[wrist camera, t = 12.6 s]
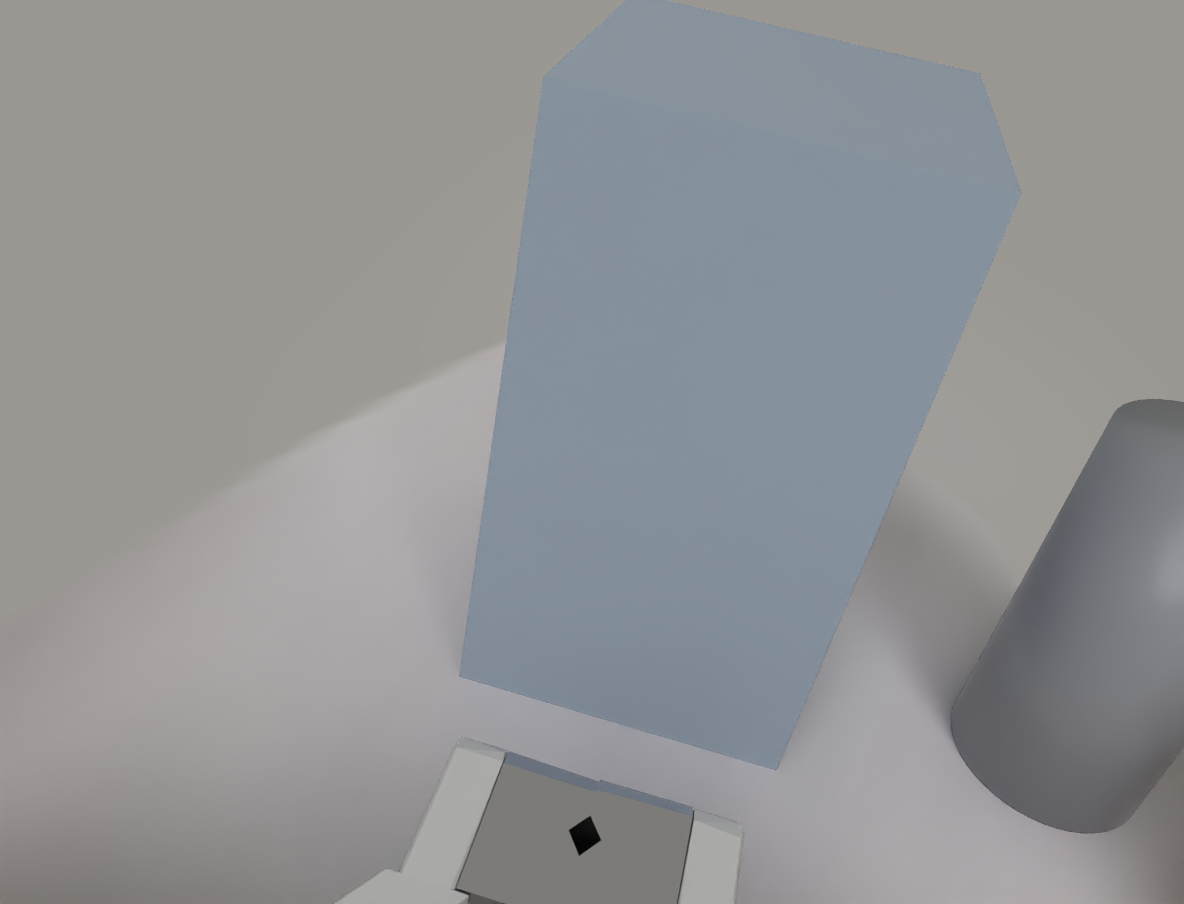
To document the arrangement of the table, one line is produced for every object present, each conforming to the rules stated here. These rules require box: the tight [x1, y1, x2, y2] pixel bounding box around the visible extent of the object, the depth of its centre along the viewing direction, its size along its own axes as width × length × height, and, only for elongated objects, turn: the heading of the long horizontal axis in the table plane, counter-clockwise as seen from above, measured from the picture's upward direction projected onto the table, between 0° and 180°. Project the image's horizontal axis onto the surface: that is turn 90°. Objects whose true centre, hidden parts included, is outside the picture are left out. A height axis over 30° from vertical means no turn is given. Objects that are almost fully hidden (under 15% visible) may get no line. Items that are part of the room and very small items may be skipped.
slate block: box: [460, 0, 1022, 770], centre depth 18 cm, size 6×6×11 cm
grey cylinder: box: [951, 399, 1184, 833], centre depth 18 cm, size 4×4×7 cm
